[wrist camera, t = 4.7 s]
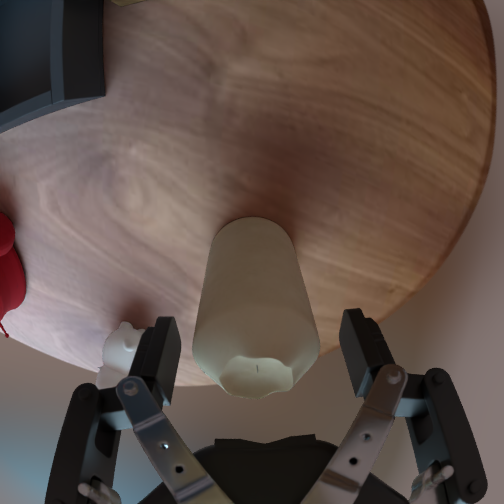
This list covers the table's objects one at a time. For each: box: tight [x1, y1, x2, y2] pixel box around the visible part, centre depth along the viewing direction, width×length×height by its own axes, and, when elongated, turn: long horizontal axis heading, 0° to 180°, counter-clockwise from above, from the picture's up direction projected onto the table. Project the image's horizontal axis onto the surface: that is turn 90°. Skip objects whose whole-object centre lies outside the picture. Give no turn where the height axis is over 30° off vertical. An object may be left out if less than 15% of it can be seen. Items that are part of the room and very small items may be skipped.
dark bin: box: [0, 0, 105, 133], centre depth 9 cm, size 12×12×5 cm
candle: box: [192, 217, 320, 399], centre depth 15 cm, size 6×6×10 cm
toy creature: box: [96, 321, 145, 389], centre depth 21 cm, size 5×8×6 cm, turn 154°
